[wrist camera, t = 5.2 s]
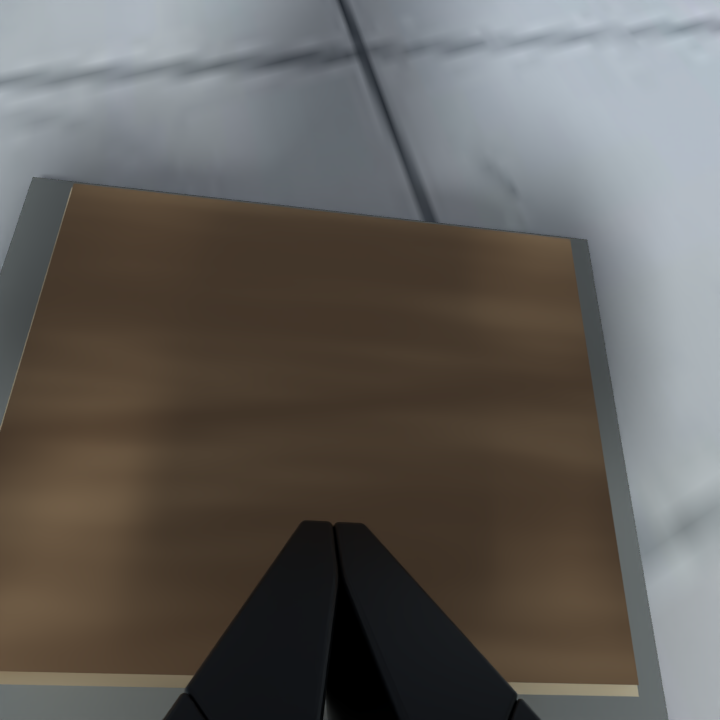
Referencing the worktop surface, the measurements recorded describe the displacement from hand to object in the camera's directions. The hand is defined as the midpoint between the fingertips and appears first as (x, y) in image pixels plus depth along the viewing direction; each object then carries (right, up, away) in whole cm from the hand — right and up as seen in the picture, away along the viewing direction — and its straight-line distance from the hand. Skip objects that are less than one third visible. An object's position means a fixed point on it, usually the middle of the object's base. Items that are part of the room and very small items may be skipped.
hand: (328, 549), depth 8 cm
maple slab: (-1, -4, +4) cm, 6 cm away
